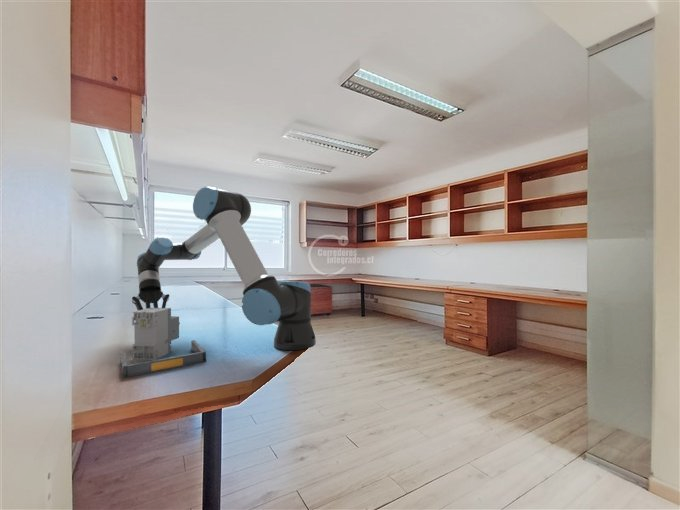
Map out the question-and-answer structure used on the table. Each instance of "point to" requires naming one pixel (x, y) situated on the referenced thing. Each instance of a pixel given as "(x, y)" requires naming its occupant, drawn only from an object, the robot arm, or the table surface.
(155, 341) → the circuit breaker
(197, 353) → the lockout stall
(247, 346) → the table surface
